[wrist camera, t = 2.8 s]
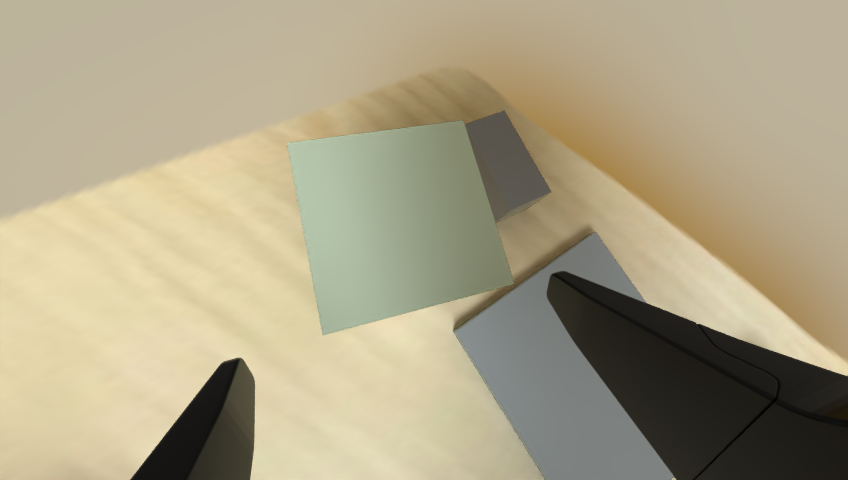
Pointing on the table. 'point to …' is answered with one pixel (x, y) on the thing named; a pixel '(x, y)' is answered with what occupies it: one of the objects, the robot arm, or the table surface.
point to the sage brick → (395, 222)
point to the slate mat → (559, 377)
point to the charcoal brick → (505, 166)
